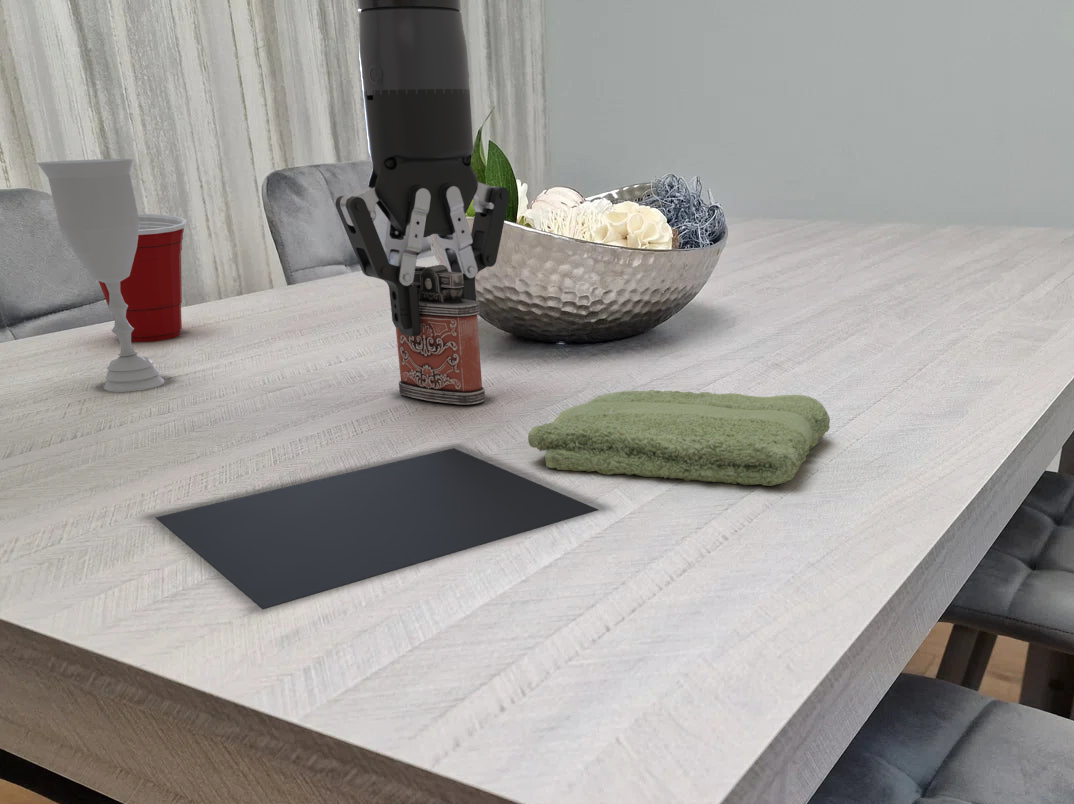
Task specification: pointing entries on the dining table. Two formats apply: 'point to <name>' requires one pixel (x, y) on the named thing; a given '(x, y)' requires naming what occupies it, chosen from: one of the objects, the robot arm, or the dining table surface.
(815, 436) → the washcloth
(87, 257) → the chalice
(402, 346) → the lighter
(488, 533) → the mat
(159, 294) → the plastic cup
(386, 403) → the dining table surface
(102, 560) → the dining table surface
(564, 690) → the dining table surface
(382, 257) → the robot arm
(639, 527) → the dining table surface
